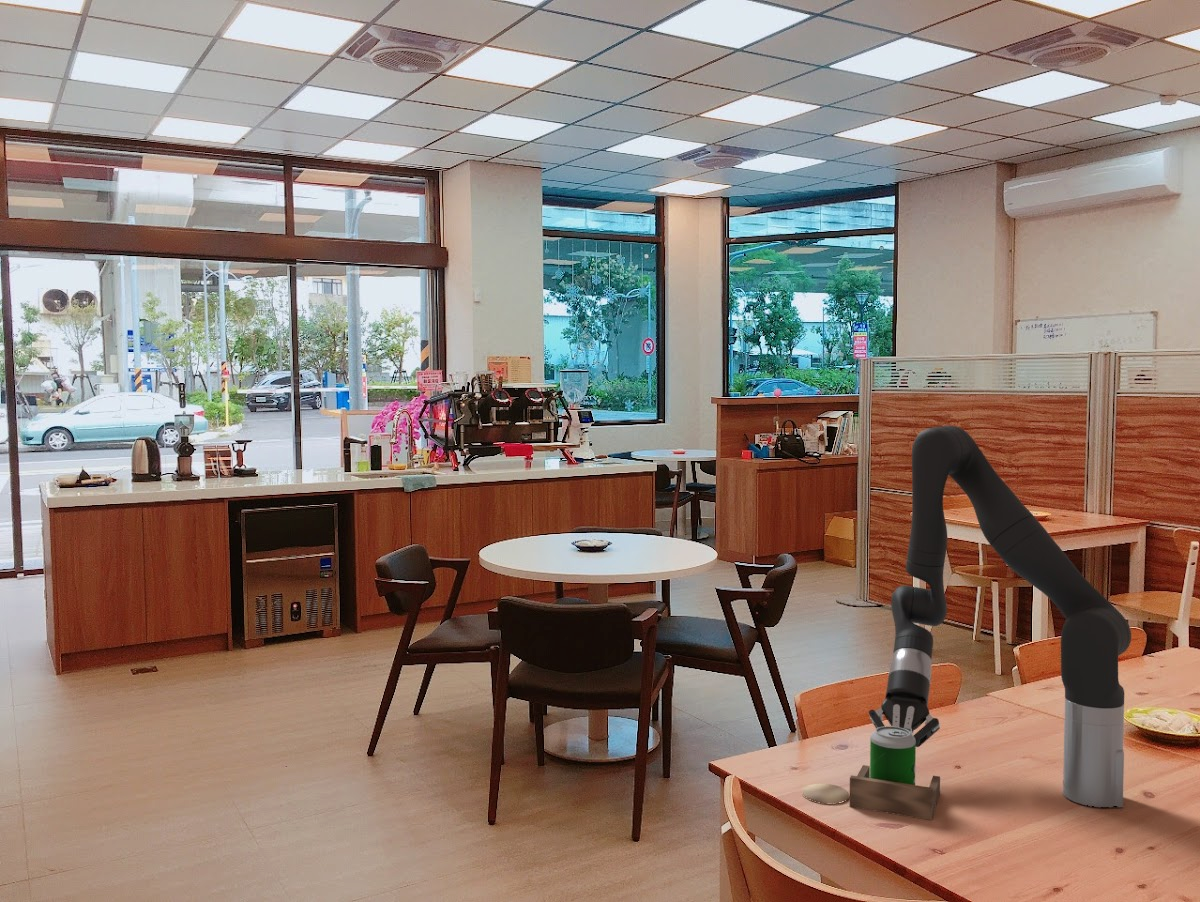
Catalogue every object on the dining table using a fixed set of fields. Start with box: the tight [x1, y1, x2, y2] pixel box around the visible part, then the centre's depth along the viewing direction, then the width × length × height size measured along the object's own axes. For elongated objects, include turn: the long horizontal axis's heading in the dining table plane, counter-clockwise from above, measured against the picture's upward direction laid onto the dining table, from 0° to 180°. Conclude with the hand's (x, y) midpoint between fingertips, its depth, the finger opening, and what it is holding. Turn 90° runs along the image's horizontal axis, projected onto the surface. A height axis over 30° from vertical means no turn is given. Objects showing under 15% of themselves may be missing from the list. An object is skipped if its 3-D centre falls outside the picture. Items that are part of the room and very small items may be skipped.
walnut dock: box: [849, 764, 941, 821], centre depth 172 cm, size 13×12×5 cm
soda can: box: [869, 725, 917, 785], centre depth 172 cm, size 8×8×12 cm
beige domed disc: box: [801, 783, 850, 804], centre depth 174 cm, size 8×8×1 cm
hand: (898, 764), depth 176 cm, fingers closed
